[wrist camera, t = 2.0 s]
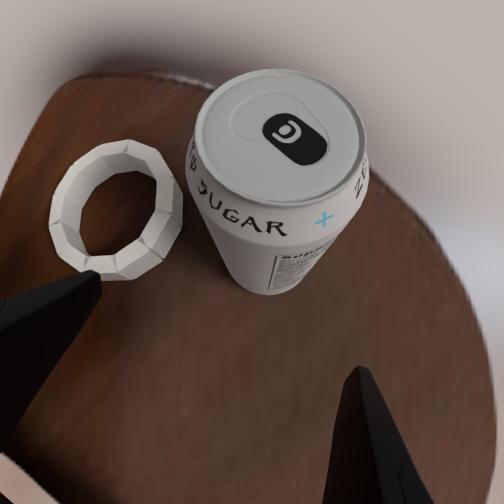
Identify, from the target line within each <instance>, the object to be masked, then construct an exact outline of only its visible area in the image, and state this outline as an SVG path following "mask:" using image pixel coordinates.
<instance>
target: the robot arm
mask: <svg viewBox="0 0 504 504" xmlns="http://www.w3.org/2000/svg"><path fill="white" fill-rule="evenodd" d="M101 295H102V284H101V275H100V274H99V273H98V272H96V271H94V270H91V269H89V270H86V271H83V272H80V273H77V274H74V275H71V276H68V277H65V278H62V279H59V280H57V281H54V282H51V283H48V284H45V285H42V286H39V287H37V288H34V289H31V290H28V291H25V292H23V293H20V294H17V295H14V296H11V297H9V298H7V299H3V300H0V453H1V452H2V450H3V449H4V447H5V445H6V443H7V442H8V440H9V438H10V436H11V435H12V433H13V431H14V430H15V428H16V426H17V425H18V423H19V421H20V420H21V418H22V416H23V415H24V412H25V411H26V410H27V408H28V406H29V405H30V403H31V402H32V400H33V399H34V397H35V395H36V394H37V392H38V391H39V389H40V388H41V386H42V385H43V383H44V382H45V380H46V379H47V377H48V376H49V374H50V373H51V371H52V370H53V368H54V367H55V365H56V364H57V363H58V361H59V360H60V358H61V357H62V355H63V354H64V353H65V351H66V350H67V348H68V347H69V346H70V344H71V343H72V341H73V340H74V339H75V337H76V336H77V335H78V333H79V332H80V330H81V329H82V327H83V326H84V324H85V322H86V321H87V319H88V317H89V315H90V314H91V312H92V310H93V309H94V307H95V305H96V304H97V302H98V301H99V299H100V297H101ZM408 453H409V452H408V450H407V448H406V446H405V443H404V441H403V439H402V437H401V435H400V432H399V430H398V428H397V426H396V424H395V422H394V419H393V417H392V415H391V413H390V411H389V409H388V407H387V405H386V403H385V400H384V398H383V396H382V394H381V392H380V390H379V388H378V386H377V384H376V382H375V380H374V378H373V376H372V374H371V372H370V370H369V369H368V368H366V367H362V366H356V367H355V368H354V369H353V371H352V372H351V373H350V375H349V376H348V377H347V379H346V380H345V383H344V386H343V390H342V395H341V399H340V404H339V408H338V412H337V416H336V420H335V425H334V431H333V439H332V446H331V453H330V460H329V467H328V473H327V479H326V485H325V490H324V496H323V501H322V504H435V503H434V502H433V500H432V498H431V496H430V494H429V493H428V491H427V489H426V487H425V485H424V483H423V482H422V480H421V478H420V476H419V474H418V472H417V470H416V468H415V465H414V463H413V461H412V459H411V457H410V455H409V454H408ZM0 504H13V503H12V502H11V501H10V500H9V499H7V498H6V497H5V496H4V495H3V494H2V493H1V492H0Z"/></svg>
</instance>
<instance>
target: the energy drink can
mask: <svg viewBox="0 0 504 504" xmlns="http://www.w3.org/2000/svg"><path fill="white" fill-rule="evenodd" d="M366 147H367V141H366V131H365V128H364V125H363V122H362V118H361V117H360V115H359V113H358V111H357V110H356V108H355V106H354V105H353V104H352V103H351V102H350V100H349V99H348V98H347V97H346V96H345V95H344V94H343V93H342V92H340V91H339V90H338V89H337V88H336V87H334V86H333V85H331V84H329V83H328V82H326V81H324V80H322V79H320V78H318V77H315V76H313V75H310V74H308V73H304V72H299V71H295V70H288V69H263V70H258V71H252V72H248V73H245V74H243V75H240V76H237V77H235V78H233V79H231V80H229V81H227V82H226V83H224V84H223V85H221V86H220V87H219V88H218V89H216V90H215V91H214V92H213V93H212V94H211V95H210V96H209V98H208V99H207V100H206V101H205V102H204V104H203V106H202V108H201V110H200V112H199V113H198V116H197V120H196V124H195V132H194V134H193V137H192V139H191V141H190V143H189V147H188V151H187V155H186V178H187V182H188V186H189V190H190V192H191V194H192V196H193V198H194V201H195V203H196V205H197V207H198V209H199V211H200V213H201V215H202V217H203V219H204V221H205V223H206V226H207V228H208V230H209V232H210V234H211V236H212V238H213V240H214V242H215V244H216V246H217V248H218V250H219V252H220V254H221V256H222V258H223V260H224V262H225V264H226V266H227V268H228V270H229V272H230V274H231V276H232V277H233V278H234V280H235V281H236V282H237V283H238V284H240V285H241V286H242V287H243V288H245V289H247V290H249V291H250V292H254V293H257V294H262V295H275V294H280V293H283V292H286V291H288V290H290V289H291V288H293V287H294V286H296V285H297V284H298V283H299V282H300V281H301V280H302V279H303V278H304V276H305V275H306V274H307V273H308V272H309V270H310V269H311V268H312V267H313V266H314V264H315V263H316V262H317V261H318V259H319V258H320V257H321V256H322V255H323V253H324V252H325V251H326V250H327V248H328V247H329V246H330V245H331V244H332V242H333V241H334V240H335V239H336V237H337V236H338V235H339V234H340V232H341V231H342V230H343V229H344V227H345V226H346V225H347V224H348V222H349V221H350V220H351V218H352V217H353V216H354V214H355V213H356V212H357V210H358V209H359V208H360V206H361V204H362V201H363V199H364V197H365V194H366V191H367V186H368V180H369V166H368V158H367V155H366Z"/></svg>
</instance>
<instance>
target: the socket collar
mask: <svg viewBox="0 0 504 504" xmlns="http://www.w3.org/2000/svg"><path fill="white" fill-rule="evenodd" d="M73 165H74V166H72V165H71V167H70V168H69V170H68V171H67V173H66V174H65V176H64V177H63V179H62V181H61V182H60V184H59V185H58V187H57V189H56V190H55V193H56V194H53V200H52V205H51V211H50V218H49V230H50V233H51V236H52V239H53V242H54V245H55V248H56V251H57V254H58V255H59V257H60V258H62V259H63V260H64V261H66V262H67V263H68V264H70V265H71V266H73V267H74V268H75V269H77V270H78V271H80V272H83V271H86V270H89V269H91V270H94V271H96V272H98V273H99V274H100V275H101V280H102V281H115V280H132V278H133V279H136V278H137V277H139V276H140V275H142V274H143V273H145V272H146V271H148V270H149V269H151V268H152V267H154V266H156V265H157V264H159V263H160V262H162V261H163V260H162V259H161V258H163V259H165V257H166V255H167V253H168V252H169V250H170V248H171V246H172V245H173V243H174V241H175V239H176V238H177V236H178V234H179V232H180V231H181V227H182V212H183V194H182V191H181V189H180V187H179V186H178V184H177V182H176V180H175V178H174V176H173V174H172V173H171V171H170V169H169V168H168V166H167V165H166V163H165V161H164V160H163V158H162V156H161V155H160V153H159V151H157V149H154V148H152V147H149V146H146V145H144V144H141V143H139V142H136V141H134V140H123V141H117V142H112V143H106V144H101V145H100V147H99V145H98V146H97V147H96V148H94V149H93V150H91V151H90V152H88V153H87V154H86V155H84V156H83V157H81V158H80V159H79V160H77V161H76V162H74V163H73ZM131 171H139V172H141V173H144V174H146V175H148V176H150V177H153V178H155V179H156V181H157V191H156V206H155V212H154V213H153V215H152V217H151V218H150V220H149V222H148V223H147V225H146V227H145V229H144V230H143V232H142V234H141V235H140V237H139V238H138V239H137V240H135V241H134V242H132V243H131V244H129V245H128V246H126V247H125V248H123V249H122V250H120V251H119V252H117V253H116V254H115V255H107V256H91V255H89V254H88V253H87V251H86V249H85V246H84V244H83V241H82V239H81V236H80V234H79V228H80V219H81V211H82V208H83V206H84V204H85V203H86V201H87V199H88V198H89V196H90V194H91V193H92V191H93V190H94V188H95V187H96V186H98V185H99V184H101V183H102V182H103V181H105V180H106V179H108V178H109V177H111V176H112V175H114V174H117V173H124V172H131Z"/></svg>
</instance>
